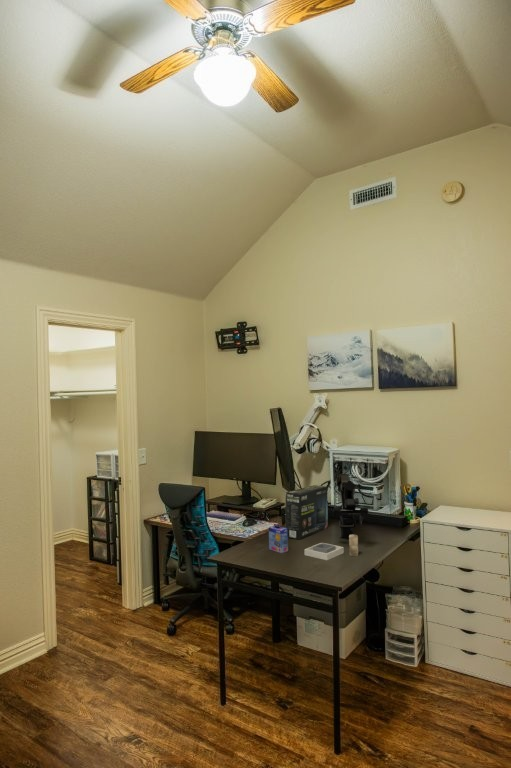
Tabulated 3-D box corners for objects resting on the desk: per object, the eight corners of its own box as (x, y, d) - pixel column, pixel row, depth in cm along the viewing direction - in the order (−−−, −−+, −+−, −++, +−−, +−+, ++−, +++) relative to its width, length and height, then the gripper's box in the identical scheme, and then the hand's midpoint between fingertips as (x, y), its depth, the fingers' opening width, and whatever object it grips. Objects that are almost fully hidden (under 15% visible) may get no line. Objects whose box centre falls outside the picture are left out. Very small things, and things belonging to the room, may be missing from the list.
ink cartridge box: (268, 549, 261) (267, 522, 262) (275, 547, 265) (274, 521, 266) (281, 553, 254) (281, 525, 255) (288, 551, 258) (288, 523, 259)
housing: (304, 555, 251) (304, 547, 251) (321, 548, 263) (321, 540, 263) (327, 560, 241) (327, 552, 242) (343, 552, 253) (343, 545, 254)
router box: (300, 540, 279) (299, 494, 280) (284, 537, 285) (283, 492, 287) (329, 527, 308) (328, 485, 309) (314, 525, 314) (313, 484, 316)
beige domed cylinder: (348, 555, 249) (347, 535, 250) (352, 553, 253) (351, 534, 253) (355, 556, 246) (355, 537, 247) (359, 554, 250) (359, 535, 250)
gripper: (332, 492, 264) (334, 517, 253) (367, 492, 263) (370, 517, 251) (332, 504, 272) (334, 528, 260) (365, 504, 270) (369, 529, 258)
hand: (351, 525), depth 257 cm, fingers open, 9 cm apart
